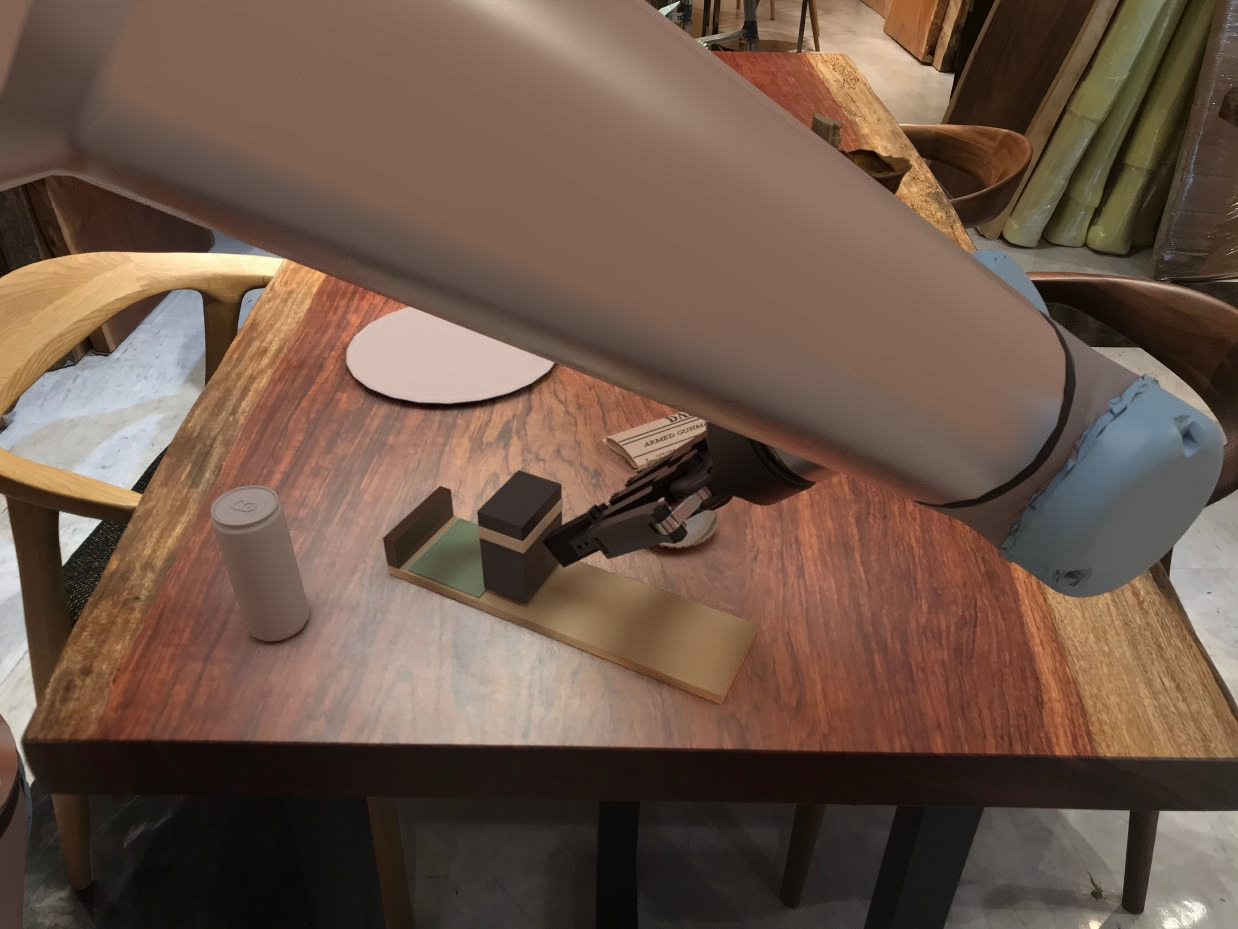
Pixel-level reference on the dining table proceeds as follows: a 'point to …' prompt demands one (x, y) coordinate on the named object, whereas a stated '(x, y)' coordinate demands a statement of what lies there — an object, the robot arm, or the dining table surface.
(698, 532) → the seashell
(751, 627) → the rail
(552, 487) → the dark grey lidded box
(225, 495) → the beverage can
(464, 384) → the plate
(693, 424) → the newspaper
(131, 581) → the dining table surface
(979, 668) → the dining table surface
